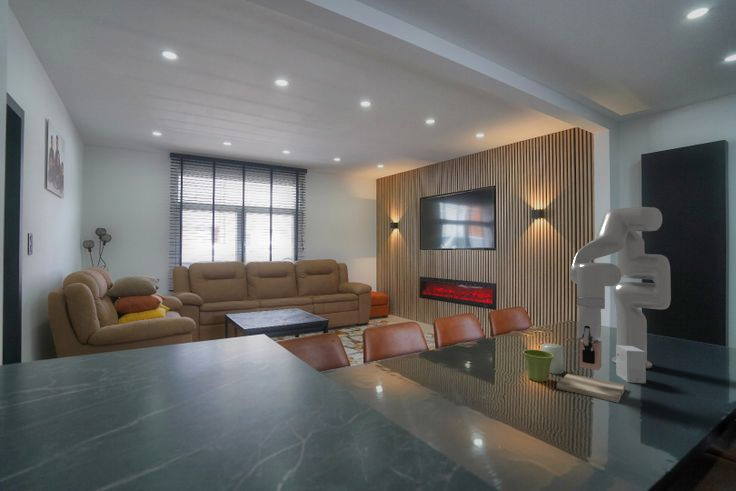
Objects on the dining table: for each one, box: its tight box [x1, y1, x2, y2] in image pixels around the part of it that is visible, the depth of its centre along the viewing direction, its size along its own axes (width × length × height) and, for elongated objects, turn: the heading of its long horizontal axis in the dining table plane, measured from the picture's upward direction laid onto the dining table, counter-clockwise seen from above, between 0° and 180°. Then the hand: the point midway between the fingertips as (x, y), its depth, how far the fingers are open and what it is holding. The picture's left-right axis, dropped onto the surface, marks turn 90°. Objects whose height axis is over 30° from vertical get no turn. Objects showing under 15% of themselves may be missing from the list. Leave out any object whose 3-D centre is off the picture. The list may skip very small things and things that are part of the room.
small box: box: [615, 344, 647, 384], centre depth 124 cm, size 8×6×10 cm
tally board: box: [556, 372, 626, 404], centre depth 114 cm, size 14×16×2 cm
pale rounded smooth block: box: [541, 343, 565, 375], centre depth 132 cm, size 7×7×9 cm
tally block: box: [579, 338, 602, 371], centre depth 114 cm, size 5×5×8 cm
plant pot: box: [522, 349, 554, 383], centre depth 123 cm, size 9×9×9 cm
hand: (590, 360), depth 114 cm, fingers closed on tally block, 5 cm apart
